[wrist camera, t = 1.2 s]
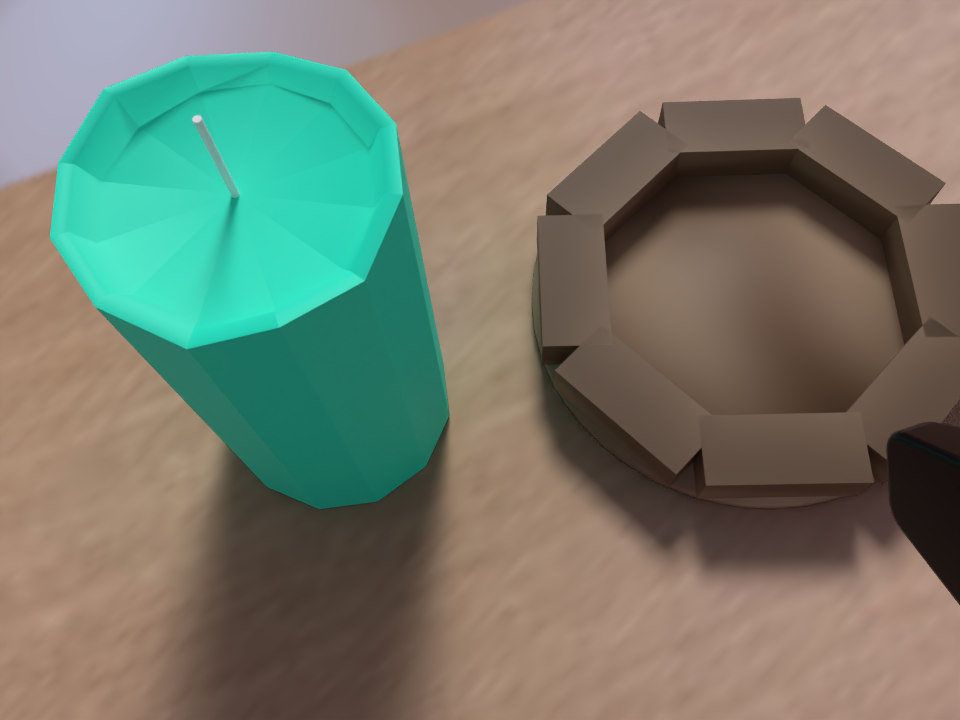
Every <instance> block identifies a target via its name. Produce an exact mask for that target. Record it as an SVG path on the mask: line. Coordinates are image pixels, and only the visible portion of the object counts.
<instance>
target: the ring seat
mask: <svg viewBox="0 0 960 720" xmlns="http://www.w3.org/2000/svg"><path fill="white" fill-rule="evenodd" d="M944 185H945V182H943V181H942V180H940V179H939V178H937V177H935V176H934V175H932V174H931V173H929V172H928V171H926V170H925V169H923V168H922V167H920V166H919V165H917V164H915V163H914V162H912V161H911V160H909V159H908V158H906V157H905V156H903V155H902V154H900V153H899V152H897V151H895V150H894V149H892V148H891V147H889V146H888V145H886V144H885V143H883V142H882V141H880V140H879V139H877V138H875V137H874V136H872V135H871V134H869V133H868V132H866V131H865V130H863V129H862V128H860V127H859V126H857V125H855V124H854V123H852V122H851V121H849V120H848V119H846V118H845V117H843V116H842V115H840V114H839V113H837V112H836V111H834V110H832V109H831V108H829V107H828V106H826V105H825V106H824V107H823V108H822V109H821V110H820V111H819V112H818V113H817V114H816V115H815V116H814V117H813V118H812V119H811V120H810V121H809V122H808V123H807V124H806V125H805V120H804V115H803V110H802V105H801V100H800V98H786V99H756V100H725V101H695V102H664V103H662V108H661V113H660V117H659V122H658V123H656V122H655V121H653V120H652V119H651V118H649V117H648V116H646V115H645V114H643V113H642V112H641V111H640V112H638V113H637V114H636V115H635V116H634V117H633V118H632V119H631V120H630V121H628V122H627V123H626V124H625V125H624V126H623V127H622V128H621V129H620V130H618V131H617V132H616V133H615V134H614V135H613V136H612V137H611V138H610V139H608V140H607V141H606V142H605V143H604V144H603V145H602V146H601V147H600V148H598V149H597V150H596V151H595V152H594V153H593V154H592V155H591V156H590V157H588V158H587V159H586V160H585V161H584V162H583V163H582V164H581V165H580V166H578V167H577V168H576V169H575V170H574V171H573V172H572V173H571V174H570V175H568V176H567V177H566V178H565V179H564V180H563V181H562V182H561V183H560V184H559V185H557V186H556V187H555V188H554V189H553V190H552V191H551V192H550V193H549V194H547V205H546V216H538V222H537V258H536V263H535V268H534V273H533V291H532V311H533V320H534V329H535V334H536V338H537V342H538V346H539V350H540V354H541V358H542V365H545V367H546V369H547V371H548V374H549V376H550V379H551V381H552V382H553V384H554V385H553V388H554V389H555V390H556V391H557V392H558V393H559V394H560V396H561V398H562V400H563V401H564V403H565V404H566V406H567V407H568V408H569V410H570V411H571V412H572V413H573V415H574V416H575V417H576V419H577V420H578V421H579V422H580V424H581V425H582V426H583V427H584V428H585V429H586V430H587V431H588V432H589V433H590V434H591V435H592V436H593V437H594V438H595V439H596V440H597V441H598V442H599V443H600V444H601V445H602V446H603V447H604V448H605V449H607V450H608V451H609V452H611V453H612V454H613V455H614V456H616V457H617V458H618V459H620V460H621V461H622V462H624V463H625V464H626V465H628V466H629V467H631V468H633V469H634V470H636V471H638V472H639V473H641V474H643V475H644V476H646V477H648V478H650V479H651V480H653V481H655V482H657V483H660V484H662V485H664V486H667V487H668V488H671V489H673V490H676V491H678V492H680V493H683V494H686V495H690V496H693V497H696V498H697V499H703V500H706V501H709V502H714V503H719V504H725V505H731V506H737V507H743V508H765V509H778V508H791V507H803V506H808V505H813V504H818V503H822V502H827V501H831V500H835V499H838V498H841V497H843V496H857V495H858V494H860V493H861V492H862V491H864V490H865V489H866V488H868V487H869V486H870V485H872V484H873V483H875V482H877V481H879V482H880V483H881V484H883V483H885V482H886V481H887V480H888V470H887V454H886V445H887V441H888V438H889V437H890V436H891V435H892V433H894V432H896V431H899V430H902V429H905V428H908V427H911V426H914V425H917V424H920V423H923V422H929V421H932V422H939V423H943V422H944V420H945V419H946V417H947V416H948V415H949V413H950V411H951V410H952V408H953V407H954V406H955V405H956V404H957V402H958V401H959V400H960V204H936V205H930V203H931V202H932V201H933V199H934V198H935V197H936V195H937V194H938V193H939V191H940V190H941V189H942V187H943V186H944Z"/></svg>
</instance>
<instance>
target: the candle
mask: <svg viewBox="0 0 960 720" xmlns="http://www.w3.org/2000/svg"><path fill="white" fill-rule="evenodd" d="M50 239H51V240H52V242H53V243H54V245H55V246H56V248H57V250H58V251H59V253H60V254H61V256H62V257H63V259H64V260H65V262H66V263H67V265H68V266H69V268H70V269H71V271H72V272H73V274H74V275H75V277H76V278H77V280H78V281H79V283H80V285H81V286H82V288H83V289H84V291H85V292H86V294H87V295H88V297H89V298H90V300H91V301H92V303H93V304H94V306H95V307H96V308H97V309H98V310H99V311H100V312H101V314H102V315H103V316H104V317H105V318H106V319H107V320H108V321H109V322H110V323H111V324H112V325H113V326H114V327H115V328H116V329H117V330H118V331H119V332H120V333H121V335H122V336H123V337H124V338H125V339H126V340H127V341H128V342H129V343H130V344H131V345H132V346H133V347H134V348H135V349H136V350H137V351H138V352H139V353H140V354H141V355H142V357H143V358H144V359H145V360H146V361H147V362H148V363H149V364H150V365H151V366H152V367H153V368H154V369H155V370H156V371H157V372H158V373H159V374H160V375H161V376H162V377H163V379H164V380H165V381H166V382H167V383H168V384H169V385H170V386H171V387H172V388H173V389H174V390H175V391H176V392H177V393H178V394H179V395H180V396H181V397H182V398H183V399H184V401H185V402H186V403H187V404H188V405H189V406H190V407H191V408H192V409H193V410H194V411H195V412H196V413H197V414H198V415H199V416H200V417H201V418H202V419H203V420H204V422H205V423H206V424H207V425H208V426H209V427H210V428H211V429H212V430H213V431H214V432H215V433H216V434H217V435H218V436H219V437H220V438H221V439H222V440H223V441H224V442H225V444H226V445H227V446H228V447H229V448H230V449H231V450H232V451H233V452H234V453H235V454H236V455H237V456H238V457H239V458H240V459H241V460H242V461H243V462H244V463H245V464H246V466H247V467H248V468H249V469H250V470H251V471H252V472H253V473H254V474H255V475H256V476H257V477H258V478H259V479H260V480H261V481H262V482H263V483H264V484H265V485H266V486H267V487H268V488H270V489H272V490H275V491H277V492H280V493H282V494H284V495H287V496H289V497H291V498H294V499H296V500H298V501H301V502H303V503H306V504H308V505H310V506H313V507H315V508H317V509H324V508H332V507H340V506H347V505H355V504H362V503H370V502H378V501H379V500H381V499H382V498H383V497H385V496H386V495H387V494H389V493H390V492H392V491H393V490H394V489H396V488H397V487H398V486H400V485H401V484H403V483H404V482H405V481H407V480H408V479H409V478H411V477H412V476H414V475H415V474H416V473H418V472H419V471H420V470H422V469H423V468H425V467H426V465H427V463H428V461H429V459H430V457H431V454H432V452H433V450H434V448H435V446H436V444H437V441H438V439H439V437H440V435H441V433H442V431H443V428H444V426H445V424H446V422H447V420H448V418H449V408H448V399H447V391H446V382H445V374H444V365H443V359H442V354H441V349H440V344H439V339H438V334H437V329H436V324H435V319H434V314H433V309H432V304H431V299H430V294H429V289H428V284H427V279H426V274H425V268H424V263H423V258H422V253H421V248H420V243H419V238H418V233H417V228H416V223H415V218H414V213H413V208H412V203H411V198H410V193H409V188H408V182H407V177H406V172H405V167H404V162H403V157H402V152H401V147H400V142H399V137H398V132H397V127H396V123H395V122H394V121H393V120H392V119H391V118H390V116H389V115H388V114H387V113H386V112H385V111H384V110H383V109H382V108H381V107H380V106H379V105H378V103H377V102H376V101H375V100H374V99H373V98H372V97H371V96H370V95H369V94H368V93H367V92H366V90H365V89H364V88H363V87H362V86H361V85H360V84H359V83H358V82H357V81H356V80H355V79H354V78H353V76H352V75H351V74H350V73H349V72H348V71H347V70H344V69H340V68H336V67H332V66H328V65H324V64H320V63H316V62H312V61H308V60H304V59H300V58H296V57H292V56H287V55H284V54H280V53H275V52H258V53H237V54H218V55H197V56H185V57H182V58H179V59H177V60H174V61H172V62H170V63H167V64H164V65H162V66H160V67H157V68H154V69H152V70H149V71H147V72H145V73H142V74H139V75H137V76H134V77H132V78H129V79H127V80H124V81H122V82H119V83H117V84H114V85H112V86H110V87H107V88H104V89H103V91H102V92H101V94H100V95H99V97H98V99H97V100H96V102H95V104H94V105H93V107H92V109H91V110H90V112H89V113H88V115H87V117H86V118H85V120H84V122H83V123H82V125H81V127H80V128H79V130H78V132H77V133H76V135H75V137H74V138H73V140H72V141H71V143H70V145H69V146H68V148H67V150H66V151H65V153H64V154H63V156H62V158H61V159H60V161H59V163H58V171H57V180H56V189H55V198H54V207H53V216H52V225H51V234H50Z"/></svg>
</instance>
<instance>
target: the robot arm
mask: <svg viewBox="0 0 960 720" xmlns="http://www.w3.org/2000/svg"><path fill="white" fill-rule="evenodd" d="M886 454H887V470H888V487H889V502H890V507H891V511H892V514H893V516H894V519H895V521H896V522H897V524H898V526H899V527H900V529H901V530H902V531H903V533H904V534H905V535H906V537H907V538H908V539H909V540H910V542H911V543H912V544H913V546H914V547H915V548H916V549H917V551H918V552H919V553H920V555H921V556H922V557H923V559H924V560H925V561H926V562H927V564H928V565H929V566H930V568H931V569H932V570H933V571H934V573H935V574H936V575H937V577H938V578H939V579H940V580H941V582H942V583H943V584H944V586H945V587H946V588H947V589H948V591H949V592H950V593H951V595H952V596H953V597H954V599H955V600H956V601H957V602H958V604H959V605H960V426H955V425H949V424H944V423H939V422H932V421H929V422H923V423H920V424H917V425H914V426H911V427H908V428H905V429H902V430H899V431H896V432H894V433H892V435H891V436H890V437H889V438H888V441H887V445H886Z"/></svg>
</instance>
